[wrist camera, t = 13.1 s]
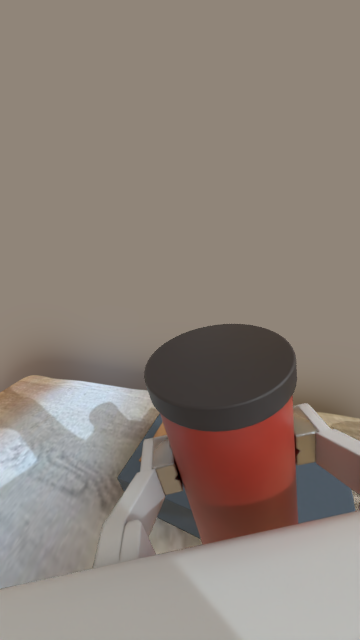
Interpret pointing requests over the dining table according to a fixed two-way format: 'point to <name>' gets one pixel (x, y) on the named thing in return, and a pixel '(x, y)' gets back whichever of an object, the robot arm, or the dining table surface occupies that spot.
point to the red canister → (230, 425)
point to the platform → (311, 479)
